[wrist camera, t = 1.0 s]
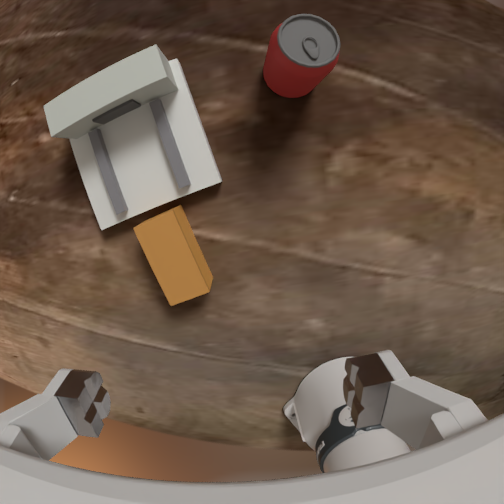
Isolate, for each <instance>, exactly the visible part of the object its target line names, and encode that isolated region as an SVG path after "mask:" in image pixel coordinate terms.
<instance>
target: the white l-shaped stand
mask: <svg viewBox="0 0 504 504" xmlns="http://www.w3.org/2000/svg"><path fill="white" fill-rule="evenodd" d="M44 110H45V114H46V118H47V122H48V126H49V130H50V134H51V137H59V138H69V139H70V143H71V146H72V149H73V152H74V156H75V159H76V162H77V165H78V168H79V171H80V174H81V177H82V180H83V183H84V186H85V188H86V191H87V194H88V197H89V200H90V202H91V205H92V208H93V210H94V213H95V215H96V218H97V221H98V223H99V226H100V228H101V230H104V229H106V228H108V227H110V226H113V225H115V224H117V223H119V222H122V221H124V220H126V219H129V218H131V217H133V216H136V215H138V214H141V213H143V212H145V211H148V210H150V209H153V208H155V207H158V206H160V205H162V204H165V203H167V202H170V201H172V200H175V199H178V198H180V197H183V196H185V195H188V194H190V193H193V192H196V191H198V190H201V189H204V188H206V187H209V186H212V185H214V184H217V183H220V182H222V179H221V176H220V173H219V170H218V168H217V165H216V162H215V159H214V156H213V154H212V151H211V148H210V145H209V143H208V140H207V137H206V134H205V132H204V129H203V126H202V123H201V121H200V118H199V115H198V112H197V109H196V107H195V104H194V101H193V98H192V96H191V93H190V90H189V87H188V84H187V82H186V79H185V76H184V73H183V71H182V68H181V65H180V63H179V61H178V59H177V58H176V59H173V60H171V61H168V60H167V58H166V57H165V56H164V54H163V53H162V52H161V50H160V49H159V48H158V46H157V45H154V46H151V47H149V48H147V49H145V50H142V51H140V52H138V53H136V54H134V55H131V56H129V57H127V58H125V59H123V60H121V61H119V62H117V63H115V64H113V65H111V66H109V67H107V68H106V69H104V70H102V71H100V72H98V73H96V74H94V75H93V76H91V77H89V78H87V79H86V80H84V81H82V82H80V83H79V84H77V85H75V86H74V87H72V88H70V89H69V90H67V91H66V92H64V93H62V94H61V95H59V96H58V97H56V98H55V99H53V100H52V101H50V102H49V103H47V104H46V105H44Z"/></svg>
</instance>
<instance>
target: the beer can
mask: <svg viewBox="0 0 504 504" xmlns="http://www.w3.org/2000/svg"><path fill="white" fill-rule="evenodd" d="M339 52H340V39H339V36H338V34H337V32H336V30H335V28H334V27H333V26H332V25H331V24H330V23H329V22H327V21H326V20H324V19H322V18H321V17H318V16H315V15H311V14H298V15H294V16H291V17H290V18H288V19H286V20H285V21H284V22H283V23H281V24H280V25H279V26H278V27H277V28H276V29H275V30H274V32H273V33H272V35H271V38H270V42H269V46H268V51H267V55H266V59H265V63H264V68H263V75H264V79H265V81H266V83H267V85H268V86H269V88H270V89H271V90H272V91H273V92H275V93H277V94H278V95H280V96H283V97H287V98H298V97H301V96H304V95H306V94H308V93H309V92H310V91H312V90H313V89H314V88H315V87H316V86H317V85H318V84H319V83H320V82H321V81H322V80H323V79H324V78H325V77H326V76H327V75H328V74H329V73H330V72H331V71H332V70H333V68H334V67H335V65H336V63H337V61H338V57H339Z"/></svg>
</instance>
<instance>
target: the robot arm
mask: <svg viewBox="0 0 504 504" xmlns="http://www.w3.org/2000/svg"><path fill="white" fill-rule="evenodd" d="M102 383H103V380H102V377H101V375H100V373H98V372H96V371H85V370H75V369H74V370H73V369H64V368H63V369H60V370H59V371H58V373H57V374H56V375H55V377H54V378H53V379H52V381H51V382H50V383H49V385H48V386H47V388H46V389H45V390H44V392H43V393H42V394H37V395H35V396H33V397H32V398H30V399H28V400H26V401H24V402H22V403H20V404H18V405H16V406H14V407H13V408H10V409H9V410H7V411H5V412H3V413H1V414H0V504H504V413H503V414H501V415H499V416H497V417H495V418H493V419H491V420H489V421H488V420H487V419H486V418H485V416H484V415H483V414H482V413H481V411H480V410H479V409H478V407H477V406H476V405H475V404H474V402H473V401H472V400H471V399H469V398H466V397H464V396H461V395H459V394H456V393H454V392H451V391H449V390H446V389H444V388H441V387H439V386H436V385H434V384H431V383H429V382H427V381H424V380H422V379H419V378H417V377H415V376H413V377H410V376H409V375H408V373H407V372H406V370H405V369H404V368H403V366H402V365H401V363H400V362H399V361H398V359H397V358H396V357H395V355H394V354H393V352H392V351H391V350H385V351H381V352H376V353H374V354H369V355H363V356H357V357H343V358H338V359H334V360H331V361H329V362H326V363H324V364H322V365H320V366H319V367H317V368H316V369H314V370H313V371H312V372H310V373H309V374H308V375H307V376H306V377H305V378H304V379H303V381H302V382H301V384H300V385H299V387H298V389H297V392H296V394H295V396H294V397H293V398H292V399H291V400H290V401H288V402H287V403H286V404H285V406H284V407H283V410H284V413H285V415H286V416H287V418H288V419H289V420H290V421H291V422H292V424H293V425H294V426H295V427H296V428H297V430H298V431H299V432H300V434H301V437H302V440H303V442H306V443H307V444H308V445H309V446H310V447H311V448H312V449H313V450H314V451H315V452H316V458H317V462H318V464H319V466H320V469H321V471H322V472H323V473H320V474H314V475H307V476H300V477H293V478H284V479H274V480H262V481H247V482H177V481H164V480H152V479H142V478H133V477H125V476H118V475H112V474H106V473H101V472H95V471H90V470H85V469H80V468H76V467H71V466H67V465H63V464H59V463H55V462H51V461H49V460H50V459H51V458H52V457H53V456H55V455H56V454H57V453H58V452H59V451H61V450H62V449H63V448H64V447H65V446H67V445H68V444H69V443H70V442H71V441H73V440H74V439H75V438H76V437H77V436H78V435H82V436H90V437H99V434H100V432H101V430H102V427H103V425H104V424H103V422H102V419H104V418H105V417H107V416H108V414H109V411H110V403H111V402H110V397H109V394H108V392H107V390H106V389H104V388H103V387H102V386H101V385H102ZM294 413H295V414H294ZM406 443H408V444H409V445H410V446H412V447H413V448H415V449H416V450H414V451H410V449H409V447H408V446H407V444H406Z"/></svg>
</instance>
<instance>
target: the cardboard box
mask: <svg viewBox="0 0 504 504" xmlns="http://www.w3.org/2000/svg"><path fill="white" fill-rule="evenodd" d="M133 229H134V231H135V233H136V236H137V238H138V240H139V242H140V244H141V246H142V249H143V251H144V253H145V255H146V257H147V259H148V261H149V263H150V266H151V268H152V270H153V272H154V274H155V276H156V278H157V280H158V282H159V284H160V286H161V288H162V290H163V292H164V294H165V296H166V298H167V300H168V302H169V304H170V305H171V306H173V305H176V304H178V303H181V302H184V301H187V300H189V299H192V298H195V297H197V296H200V295H203V294H206V293H208V292H210V288H211V284H212V280H213V276H212V274H211V272H210V270H209V267H208V265H207V263H206V261H205V258H204V256H203V254H202V252H201V250H200V247H199V245H198V243H197V241H196V238H195V236H194V234H193V231H192V229H191V227H190V225H189V222H188V220H187V218H186V215H185V213H184V211H183V208H182V206H181V205H179V206H177V207H174V208H172V209H170V210H167V211H165V212H163V213H161V214H159V215H156V216H154V217H152V218H150V219H148V220H145V221H144V222H142V223H141V224H139V225H137V226H136V227H134V228H133Z"/></svg>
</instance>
